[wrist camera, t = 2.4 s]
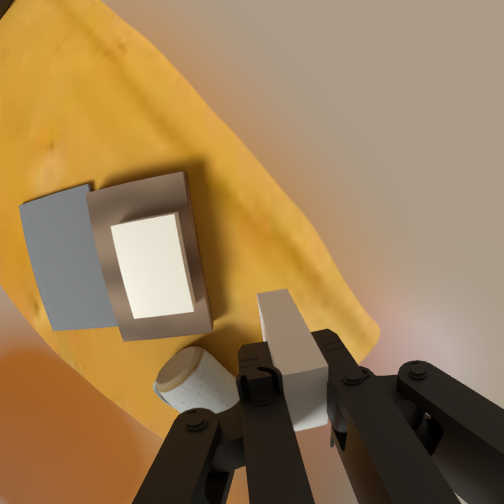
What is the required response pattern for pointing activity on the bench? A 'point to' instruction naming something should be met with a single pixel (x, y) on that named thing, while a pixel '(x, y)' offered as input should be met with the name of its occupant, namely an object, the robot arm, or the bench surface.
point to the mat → (66, 260)
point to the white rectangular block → (154, 265)
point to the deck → (102, 218)
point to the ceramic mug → (196, 382)
